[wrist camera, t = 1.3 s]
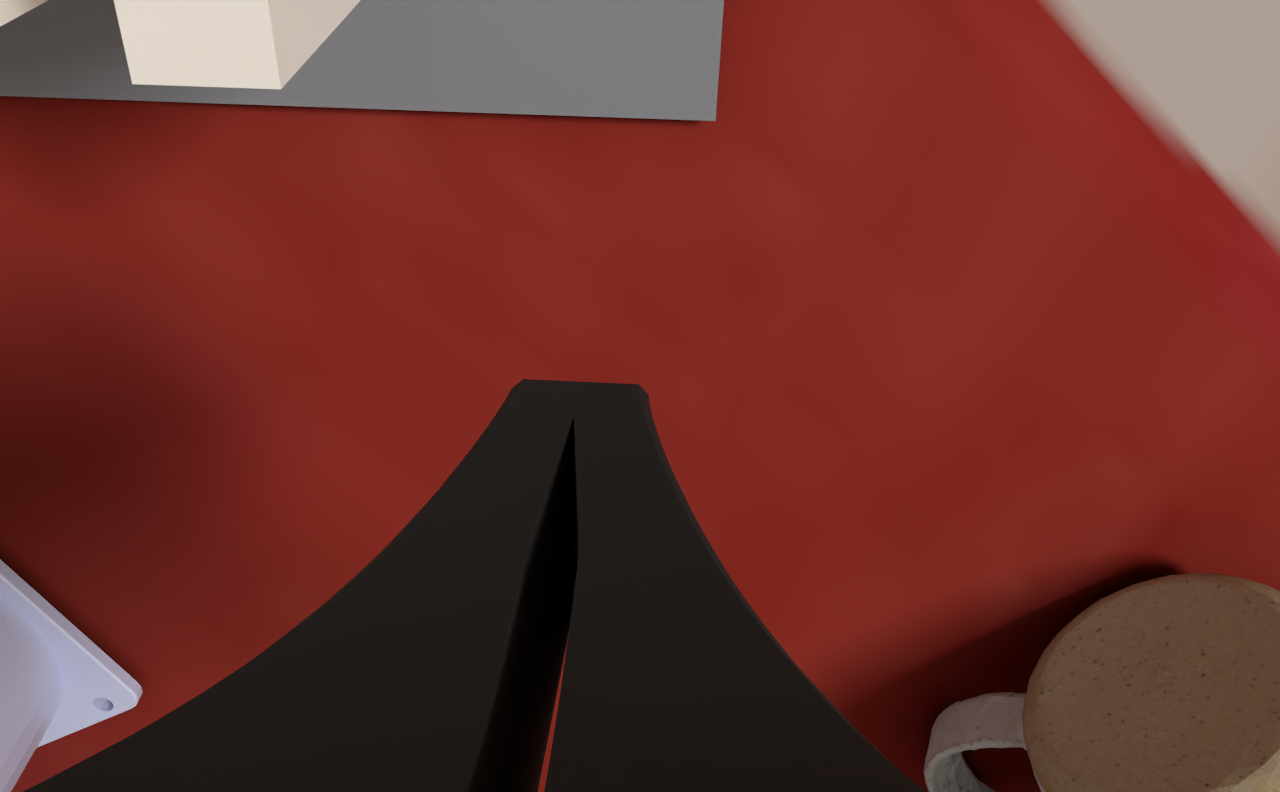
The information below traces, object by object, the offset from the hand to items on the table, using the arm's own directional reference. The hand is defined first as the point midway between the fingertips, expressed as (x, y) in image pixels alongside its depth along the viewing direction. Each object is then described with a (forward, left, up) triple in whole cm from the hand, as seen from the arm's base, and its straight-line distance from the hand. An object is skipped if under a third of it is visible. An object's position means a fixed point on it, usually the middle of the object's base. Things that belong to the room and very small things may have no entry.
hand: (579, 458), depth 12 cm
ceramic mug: (+4, -20, -11) cm, 23 cm away
